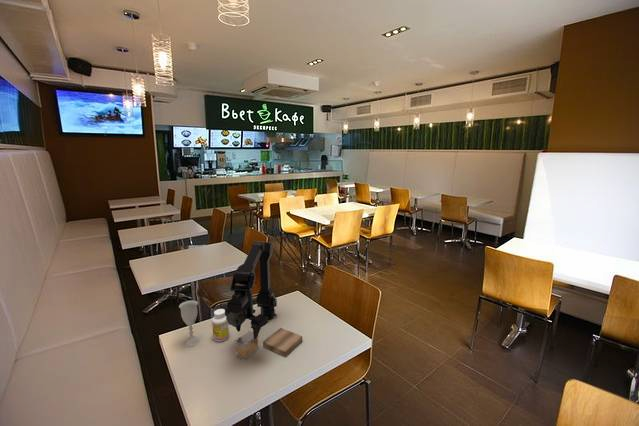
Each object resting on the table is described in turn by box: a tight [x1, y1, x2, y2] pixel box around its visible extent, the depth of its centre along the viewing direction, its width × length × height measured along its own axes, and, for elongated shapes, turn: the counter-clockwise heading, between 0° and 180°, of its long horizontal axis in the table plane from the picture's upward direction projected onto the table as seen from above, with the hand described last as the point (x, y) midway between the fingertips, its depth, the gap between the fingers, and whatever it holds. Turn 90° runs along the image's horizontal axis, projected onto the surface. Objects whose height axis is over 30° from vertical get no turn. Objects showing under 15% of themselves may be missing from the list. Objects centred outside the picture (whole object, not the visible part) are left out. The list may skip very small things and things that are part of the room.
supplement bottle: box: [211, 308, 230, 343], centre depth 130 cm, size 7×7×13 cm
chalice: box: [178, 300, 199, 347], centre depth 126 cm, size 7×7×18 cm
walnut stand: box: [262, 327, 303, 358], centre depth 127 cm, size 12×12×2 cm
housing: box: [234, 330, 260, 361], centre depth 121 cm, size 5×8×7 cm, turn 149°
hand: (246, 334), depth 120 cm, fingers open, 9 cm apart
